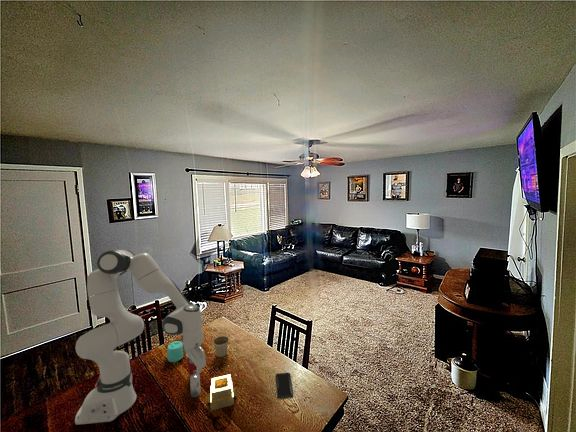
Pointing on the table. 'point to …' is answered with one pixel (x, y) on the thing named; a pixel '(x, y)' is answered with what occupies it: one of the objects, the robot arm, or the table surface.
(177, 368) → the table surface
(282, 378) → the phone
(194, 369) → the paper cup
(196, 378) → the silver metal cylinder
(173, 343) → the turquoise rounded container
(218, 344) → the flower pot
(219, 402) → the valve body
